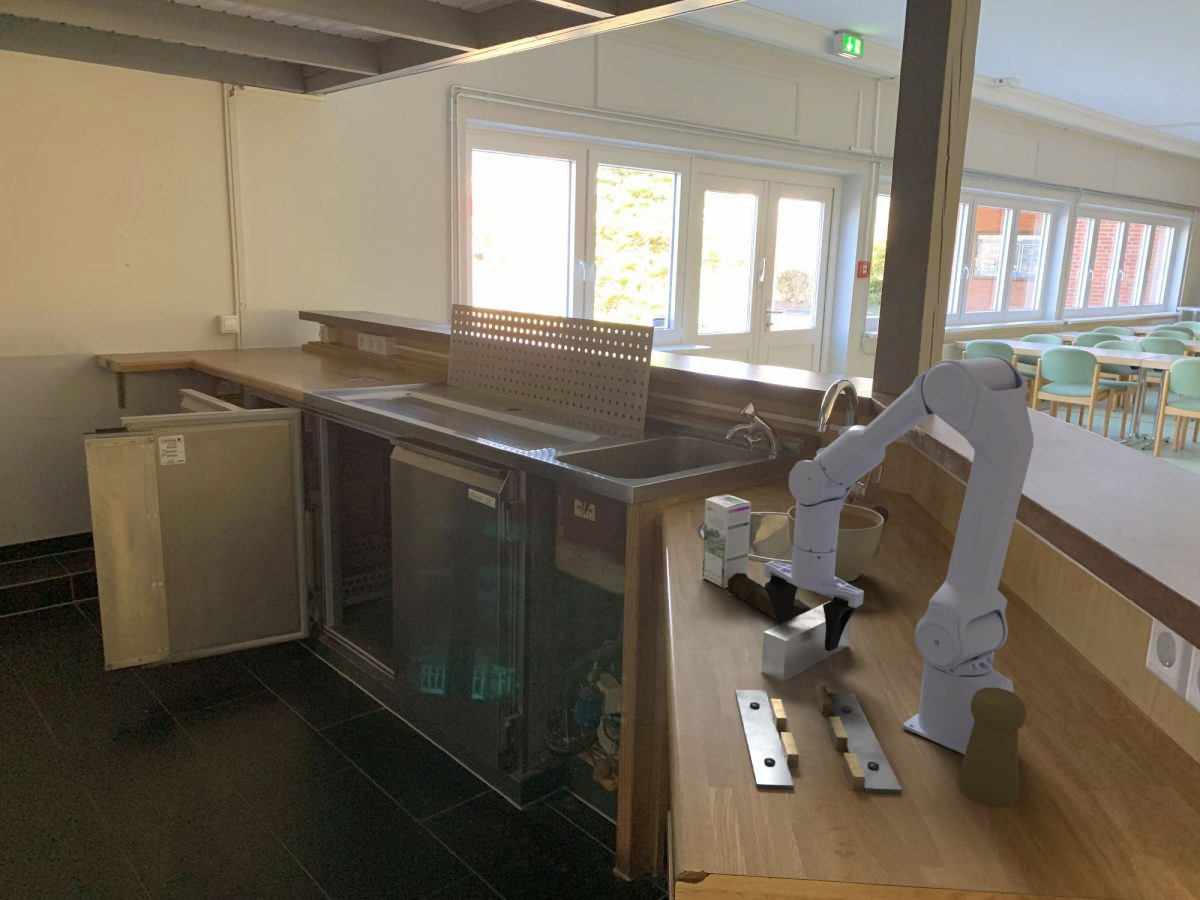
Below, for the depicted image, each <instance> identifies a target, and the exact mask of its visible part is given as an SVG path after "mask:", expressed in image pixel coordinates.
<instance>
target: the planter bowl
mask: <svg viewBox="0 0 1200 900" xmlns="http://www.w3.org/2000/svg"><path fill="white" fill-rule="evenodd" d="M786 513H787V519H788V520H787V521H788V534H789V540H790V543H791V546H792V547H793V543H794V529H795V515H796V505H794V506H792V507H790V508H789V509H788V510H787V512H786ZM884 522H885V519H884V517H883V516H882V515H881V514H880V513H879V512H877V511H875V510H873V509H870V508H867V507H863V506H860V505H853V504H849V503H843V509H841V511H840V517H839V529H838V540H837V552H836V564H835V575H834V576H835V577H837V578H839V579H841V580H843V581H844V582H846V583H848V582H853V581H855V580H857V579H858V578H859V577H860V574H861V571H862V570H863V569H864V568H865V567H866V566H867V564H868V563H869V562H870V561H871V560H872V558H873V556H874V555H875V553H876V551H877V549H878V546H879V543H880V540H881V534H882V529H883V527H884Z"/></svg>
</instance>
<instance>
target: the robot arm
mask: <svg viewBox="0 0 1200 900" xmlns="http://www.w3.org/2000/svg"><path fill="white" fill-rule="evenodd" d="M1028 382H1029V381H1027V379H1026V378H1025V377H1024V376H1023V374H1022V373H1021V372H1020V371H1019V369H1018V368H1017V367H1016V366H1015V364H1014V363H1012V361H1011V360H1009V359H1008V358H1006V357H1003V356H1001V355H995V354H992V355H986V356H982V357H976V358H967V359H966V358H965V359H964V358H963V359H943V360H942V359H941V360H939V361H938V362H936V363H934V364H933V365H931V367H929V369H928V370H927V371H924V372H922V373H920V374H919V375H918V376H916V377H915V378H914V380H913V382H912V384H911V385H910V386H909V387H908V388H907V389H905V390H904V392H902V393H901V394H900V395H899V396H898V397H897V398H896V399H895V400H894V401H893V402H892V403H890V404H889V406H887V407H886V408H885V409H884V410H883V411H882V412H880V413H879V415H877V416H876V417H875V418H874V419H873V420H872V421H871V422H870V423H869V424H868V425H867V426H865V425H861V424H856V425H853V426H852V425H847V426H843V427H842V428H841V429H839V430H838V432H837V433H838V435H839V436H838V437H837V438H836V439H835V440H833V441H832V442H831V443H830V444H829V445H828V446H827V447H821V448H819V449H818V450H817V451H816V455H815V457H814V458H813V459H812V460H809V459H804V460H800V461H797V462H796V463H795V465H794V466H793V467H792V468H791V470H790V471H789V475H788V487H789V491H790V493H791V495H792V497H793V498H794V499H795V500H796V502H795V503H796V504H795V506H796V515H795V529H794V543H793V546H792V557H791V559H792V560H791V564H789V563H784V562H779V561H777V560H772V561H768V562H766V563H764V571H763V576H764V577H765V578H767V579H769V581H768V582H766V583H765V584H764V587H765V590H766V592H767V593H768V595H769V597H770V600H771V602H772V605H773V608H774V611H775V615H776V618H775V620H776V623H777V625H776V626H778V625H780V624H782V623H784V622H786V621H788V620H791V619H792V618H793V606H794V600H795V599H796V596H797V592H798V589H799V588H801V589H802V590H803V589H804V590H809V591H811V592H815V593H817V594H820V595H823V596H826V597H829V598H832V600H829V601H830V602H829V601H827V602H828V603H827V602H825V603H826V604H825V603H823V604H824V605H823V604H822V605H823V609H824V614H825V621H826V634H825V650H827V651H832V650H834V649H836V648H837V647H838V644H839V641H840V638H841V635H842V633H843V630H844V628H845V626H846V624H847V622H848V621H849V619H850V617H851V618H852V616H853V615H854V613H855V612H856V610H857V609H858V608H859V607H860V606H862V605H863V603H864V594H865V591H864V590H863V589H859V588H858V587H855V586H853V585H852V584H850V583H848V582H844V581H843V580H841V579H839V578H837V577H835V576H834V575H835V564H836V552H837V540H838V529H839V517H840V511H841V509H843V504H844V502H845V499H846V498H847V497H848V496H849V494H850V493H851V491H852V489H853V485H854V483H856V482H857V481H859V480H860V479H861V478H862V477H864V476H865V475H867V474H868V473H869V472H870V471H872V470H873V469H875V468H876V467H878V466H879V465H880V464H881V463H882V462H883V461H884V460H885V457H886V447H887V446H889V445H890V444H892V443H894V442H895V441H896V440H898V439H899V438H900V437H902V436H904V435H906V433H908V432H909V431H911V430H913V429H914V428H915V427H917V426H918V425H920V424H921V423H923V422H924V421H925V420H927V419H929V418H930V417H931V416H933V415H936V417H938V418H940V420H942V421H943V422H944V423H946V424H947V425H948V426H949V427H951V428H952V429H953V430H954V431H956V432H957V433H958V434H960V435H961V436H962V437H964V439H966V441H967V443H969V445H970V446H971V447H972V449H973V451H974V455H973V459H972V465H971V468H970V470H969V471H970V473H969V477H968V481H967V486H966V490H965V495H964V499H963V504H962V507H961V512H960V515H959V519H958V524H957V529H956V534H955V538H954V542H953V547H952V551H951V556H950V561H949V563H948V569H947V574H946V578H945V581H944V582H943V583H942V585H941V586H940V587H938V588H939V589H938V590H937V591H936V592H935V593H934V594H933V596H932V597H931V598H930V600H929V602H928V605H927V609H926V612H925V613H924V615H923V616H922V617H921V618H920V619H919V620H918V622H917V623H916V625H915V628H914V642H915V645H916V648H917V650H918V653H919V654H920V655H921V657H922V662H923V670H922V679H921V689H920V697H919V706H918V713H916V714H915V715H913V716H912V717H910V718H909V719H907V720H906V721H905V722H903V724H902V727H903V728H904V729H905V730H907V731H909V732H912V733H915V734H917V735H919V736H921V737H924V738H926V739H928V740H930V741H932V742H935V743H936V744H939V745H942V746H943V747H946V748H948V749H950V750H953V751H954V752H955V751H956V752H958V753H960V754H962V755H963V756H965V752H966V749H967V745H968V742H969V739H970V735H971V732H972V728H973V725H974V721H975V719H974V717H973V715H972V712H971V701H972V698H973V696H974V694H975V693H976V692H977V691H979V690H980V689H983V688H990V687H994V688H1001V689H1005V690H1008V691H1010V692H1012V693H1014V683H1013V681H1012V679H1011V678H1009V677H1007V676H1006V675H1003V674H1001V673H1000V672H999V671H997V670H996V669H995V668H994V667H993V661H994V655H995V651H996V650H998V649H1000V648H1002V646H1003V645H1004V644H1005V642H1006V640H1007V638H1008V632H1009V627H1008V623H1007V619H1006V608H1007V605H1008V604H1007V603H1008V599H1007V598H1006V597H1005V595H1003V594H1002V593H1001V592H1000V591H999V590H998V589H999V585H1000V580H1001V576H1002V573H1003V569H1004V565H1005V562H1006V561H1005V560H1006V557H1007V553H1008V552H1007V551H1008V549H1009V545H1010V540H1011V537H1012V531H1013V529H1014V524H1015V520H1016V517H1017V512H1018V509H1019V505H1020V500H1021V496H1022V492H1023V488H1024V485H1025V481H1026V476H1027V472H1028V468H1029V465H1030V460H1031V458H1032V457H1031V456H1032V454H1033V453H1032V452H1033V449H1034V443H1035V442H1034V433H1033V429H1032V424H1031V419H1030V416H1029V410H1028V407H1027V403H1026V402H1027V401H1026V395H1027V389H1028V385H1029V383H1028Z"/></svg>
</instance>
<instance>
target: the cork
mask: <svg viewBox="0 0 1200 900" xmlns="http://www.w3.org/2000/svg"><path fill="white" fill-rule="evenodd" d="M971 712H972V715H973V717H974V719H975V721H974V725H973V728H972V732H971V735H970V739H969V742H968V745H967V749H966V752H965V755H963V759H962V763H961V767H960V769H959V774H958V776H957V781H956V785H957V788H959V791H961V792H962V793H963V794H964V795H965V796H967V798H970V799H971V800H973V801H976V802H977V803H981V804H984V805H987V806H992V807H1009V806H1011V805H1015V804H1016V803H1017V802H1018V801H1019V797H1020V783H1019V782H1020V780H1019V779H1020V778H1019V777H1020V775H1019V773H1020V772H1019V729H1020V728H1022V727H1023V726H1024V724H1025V721H1026V716H1027V708H1026V705H1025V703H1024V701H1023V699H1022V698H1021V697H1020V696H1018V695H1017V694H1015V693H1014V692H1013V693H1012V692H1010V691H1008V690H1005V689H1001V688H994V687H990V688H983V689H980V690H979V691H977V692H976V693H975V694H974V696H973V698H972V701H971Z"/></svg>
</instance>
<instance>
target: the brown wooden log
mask: <svg viewBox="0 0 1200 900" xmlns="http://www.w3.org/2000/svg"><path fill="white" fill-rule="evenodd" d="M748 576H749V575H748ZM748 576H747V575H746V574H745V573H736V574H734V575H733V576H732V577H731V578H729V579H728V593H729V595H730V594H733V595H732V596H734V597H735V598H736V599H738V598H740V599H741V600H744V601H745V602H747V603H749V604H751V605H752V606H754V607H755V608H757V609H759V610H761V611H762V612H764V613H766V614H768V615H770V616H771V617H773V618H775V619H776V615H775V611H774V608H773V605H772V602H771V600H770V597H769V595H768V593H767V592H766V590H765V586H763V585H762V584H761V583H759V582H756V581H755V580H754V579H751V578H749V577H748ZM810 610H812V608H811V607H810V606H809V605H808V604H805V603H804V602H803V601H801V600H800V599H798V598H795V600H794V606H793V618H795V617H797V616H799V615H801V614H803V613H805V612H808V611H810ZM793 618H792V619H793Z"/></svg>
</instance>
